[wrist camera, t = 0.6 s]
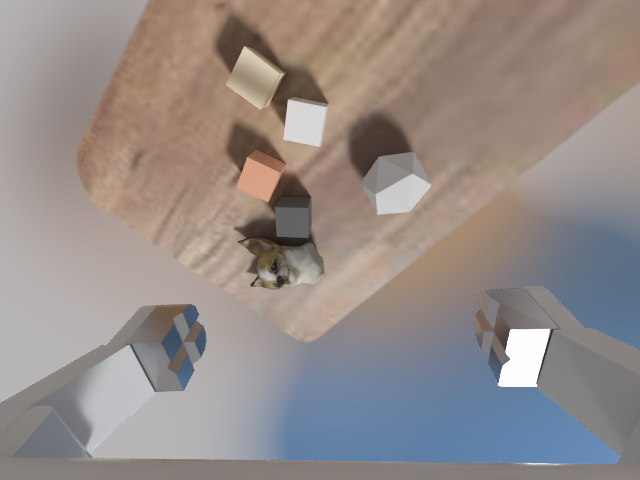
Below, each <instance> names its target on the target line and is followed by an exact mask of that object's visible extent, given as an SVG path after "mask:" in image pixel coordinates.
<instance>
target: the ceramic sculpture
mask: <svg viewBox="0 0 640 480" xmlns="http://www.w3.org/2000/svg"><path fill="white" fill-rule="evenodd" d="M238 243H240V244H241V245H243V246H245V247H246V248H247V249H248V250H249V251H250V252H251V253H252V254H254V255H256V256H259V259H258V262H257V273H258V276H257V277H256V279H255V281H254V282H252V284H251V287H256V286H261V287H264V288H269V289H271V290H273V289H280V288H281V287H291V286H294V285H297V284H300V283H302V282H304V283H310V284H314V283H316V282H317V281H319V280H320V279H321V278H322V277H323V276H324V263H323V259H322V257H321V256H320V255H319V253H318V251H317V250H316V248H315V246H314V245H313V244H312V243H310V242H308V243H305V244H303V245H302V246H298V247H295V246H280V245H278V244H277V243H275V242H273V241H271V240H269V239H266V238H262V237H250V238H246V239H244V240H241V241H238Z"/></svg>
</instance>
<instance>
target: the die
mask: <svg viewBox="0 0 640 480" xmlns="http://www.w3.org/2000/svg"><path fill="white" fill-rule="evenodd" d="M360 184H361V186H362V188H363V189H364V191H365V193H366V195H367V197H368V198H369V200H370V202H371V204H372V206H373V208H374V209H375V211H376V213H377V215H379V214H390V213H402V212H410V210H411V209H412V208H413V207H414V206H415V205H416V203H417V202H418V201H419V200H420V199H421V197H422V196H423V195H424V194H425V193H426V192H427V190H428V189H429V188H430V187H431V186H432V184H431V182H430V181H429V179H428V177H427V175H426V173H425V171H424V170H423V168H422V166H421V164H420V162H419V160H418V159H417V157H416V155H415V153H414V152H408V153H401V154H394V155H386V156H379V157H378V159H377V160H376V161H375V163H374V164H373V166H372V167H371V169H370V170H369V171H368V173H367V174H366V176H365V177H364V179H363V180H362V181H361V183H360Z"/></svg>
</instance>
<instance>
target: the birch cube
mask: <svg viewBox="0 0 640 480" xmlns="http://www.w3.org/2000/svg"><path fill="white" fill-rule="evenodd" d="M286 74H287V73H285V72H284V71H283V70H281V69H280V68H279V67H278V66H276V65H275V64H274V63H272V62H271V61H270V60H269V59H267V58H266V57H265V56H263V55H262V54H261V53H259V52H258V51H257V50H256V49H253V48H249V47H245V46H244V48H243V50H242V52H241V54H240V56H239V58H238V60H237V62H236V64H235V67H234V69H233V71H232V73H231V75H230V77H229V79H228V81H227V83H226V85H227V86H228V87H230V88H231V89H233V90H234V91H235V92H237V93H238V94H239V95H241V96H242V97H244V98H245V99H246V100H248V101H249V102H250V103H252V104H253V105H255V106H256V107H257V108H259V109H262V108H264V107H267V106H268V105H269V104H270V102H271V100H272V98H273V97H274V95H275V93H276V91H277V89H278V88H279V86H280V84H281V82H282V81H283V79H284V77H285V75H286Z"/></svg>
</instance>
